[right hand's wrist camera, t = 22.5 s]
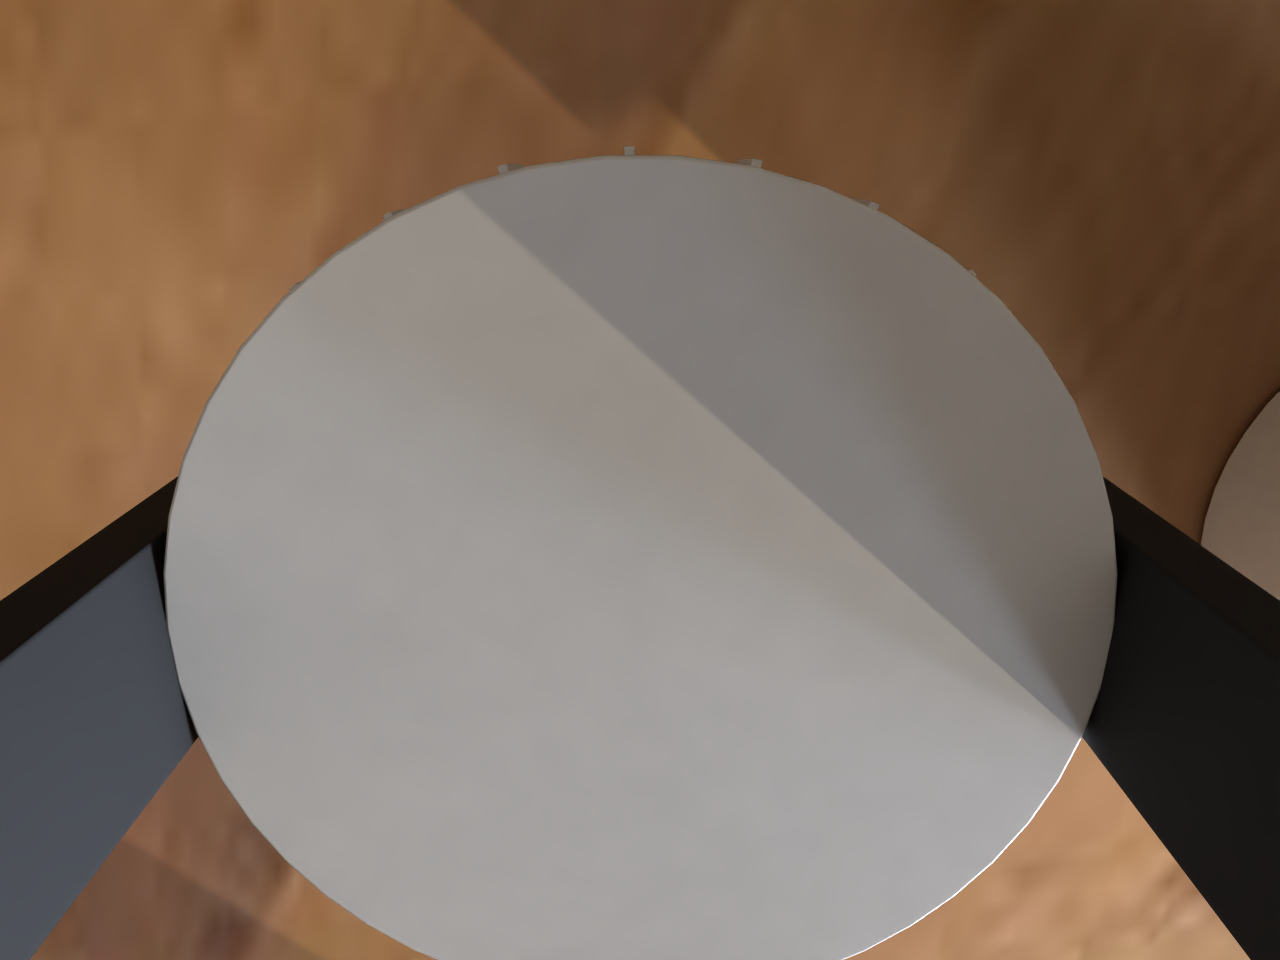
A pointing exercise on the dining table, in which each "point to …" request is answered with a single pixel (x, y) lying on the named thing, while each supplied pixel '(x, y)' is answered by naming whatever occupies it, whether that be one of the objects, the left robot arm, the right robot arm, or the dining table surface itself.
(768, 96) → the dining table surface
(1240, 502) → the jar
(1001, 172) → the dining table surface
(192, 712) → the lid
